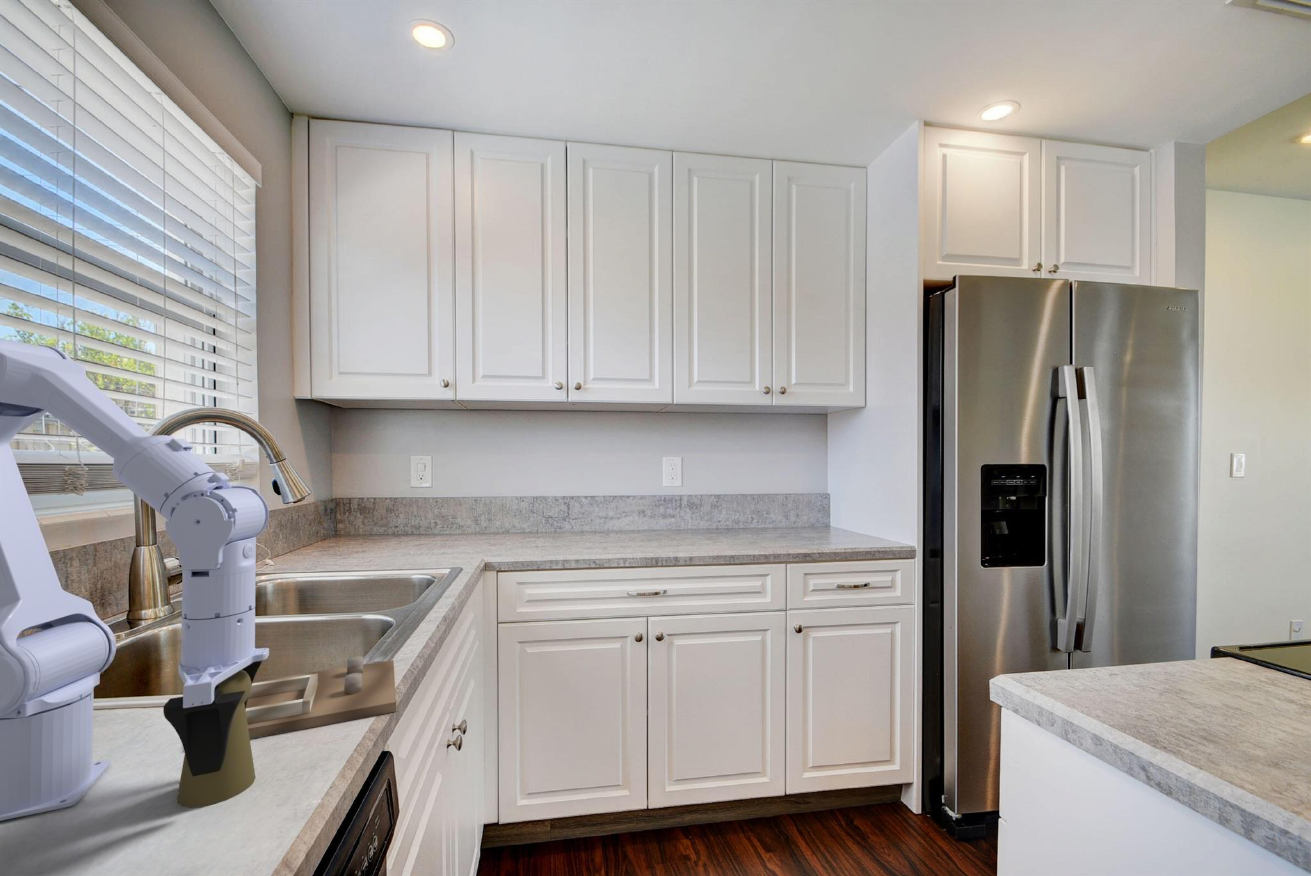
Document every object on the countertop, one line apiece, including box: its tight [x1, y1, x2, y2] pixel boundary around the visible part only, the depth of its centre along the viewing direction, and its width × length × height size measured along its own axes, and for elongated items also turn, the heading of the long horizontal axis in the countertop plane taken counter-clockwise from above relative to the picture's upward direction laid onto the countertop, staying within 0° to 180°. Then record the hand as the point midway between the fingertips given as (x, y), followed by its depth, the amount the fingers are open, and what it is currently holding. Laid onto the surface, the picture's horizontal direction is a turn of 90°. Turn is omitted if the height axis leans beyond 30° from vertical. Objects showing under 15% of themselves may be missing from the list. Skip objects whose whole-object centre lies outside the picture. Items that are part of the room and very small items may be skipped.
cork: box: [176, 670, 256, 808], centre depth 55 cm, size 6×6×11 cm
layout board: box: [246, 655, 397, 740], centre depth 74 cm, size 20×16×3 cm
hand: (217, 751), depth 55 cm, fingers open, 7 cm apart
